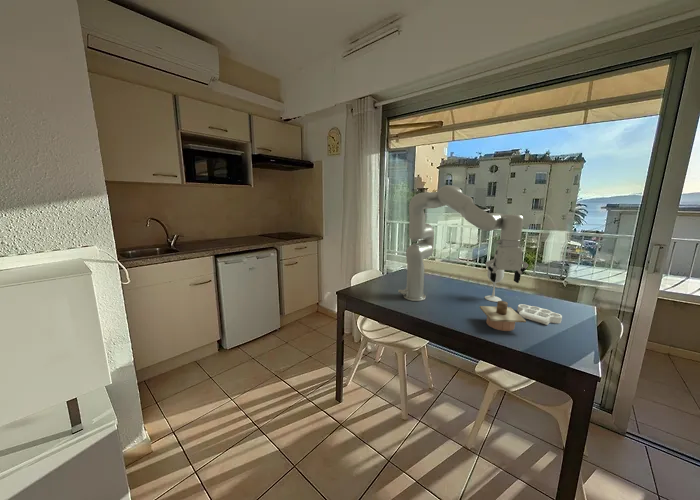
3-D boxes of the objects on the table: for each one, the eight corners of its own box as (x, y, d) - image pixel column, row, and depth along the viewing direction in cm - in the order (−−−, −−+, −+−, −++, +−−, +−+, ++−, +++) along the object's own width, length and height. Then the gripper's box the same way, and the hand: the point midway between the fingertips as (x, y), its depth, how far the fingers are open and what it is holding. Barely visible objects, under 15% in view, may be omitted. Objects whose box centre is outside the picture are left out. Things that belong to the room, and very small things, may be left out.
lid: (491, 320, 114) (492, 308, 113) (479, 307, 128) (480, 296, 127) (525, 322, 113) (527, 309, 111) (510, 308, 126) (511, 297, 125)
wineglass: (495, 303, 145) (499, 266, 141) (481, 297, 153) (484, 262, 149) (505, 300, 149) (509, 264, 145) (490, 295, 157) (494, 260, 153)
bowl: (492, 330, 116) (493, 319, 115) (483, 318, 127) (484, 309, 126) (519, 331, 115) (520, 320, 114) (507, 319, 126) (508, 310, 125)
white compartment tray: (510, 315, 131) (521, 307, 140) (555, 329, 117) (564, 319, 127) (511, 309, 130) (522, 301, 140) (556, 322, 117) (565, 313, 126)
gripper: (491, 244, 111) (487, 283, 115) (536, 245, 109) (529, 285, 113) (485, 241, 118) (480, 278, 122) (526, 242, 116) (521, 279, 120)
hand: (504, 281), depth 117 cm, fingers open, 9 cm apart
